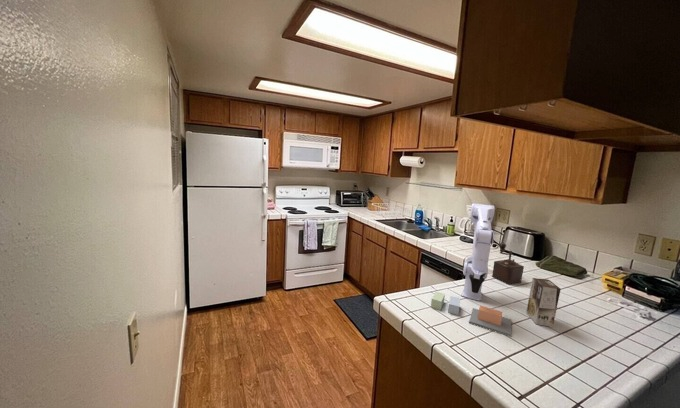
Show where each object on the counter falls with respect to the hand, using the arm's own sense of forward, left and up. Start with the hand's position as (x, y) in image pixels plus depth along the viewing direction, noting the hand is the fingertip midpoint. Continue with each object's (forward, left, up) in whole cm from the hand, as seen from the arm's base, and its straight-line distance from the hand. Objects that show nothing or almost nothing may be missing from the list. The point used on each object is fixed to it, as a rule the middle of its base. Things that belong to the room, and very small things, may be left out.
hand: (475, 289), depth 118 cm
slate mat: (+6, +7, -9) cm, 13 cm away
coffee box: (-9, +24, -10) cm, 27 cm away
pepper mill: (-49, +10, -10) cm, 51 cm away
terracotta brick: (+6, +7, -9) cm, 12 cm away
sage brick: (+5, -13, -10) cm, 17 cm away
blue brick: (+5, -7, -10) cm, 13 cm away
